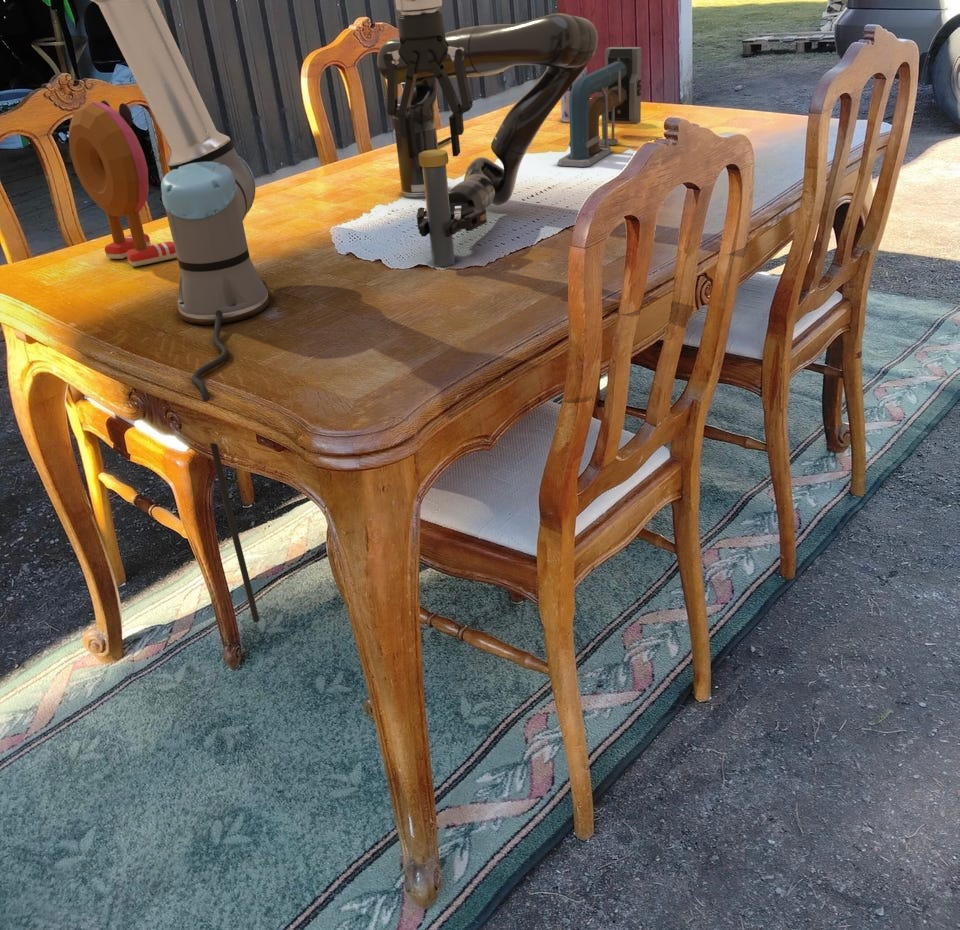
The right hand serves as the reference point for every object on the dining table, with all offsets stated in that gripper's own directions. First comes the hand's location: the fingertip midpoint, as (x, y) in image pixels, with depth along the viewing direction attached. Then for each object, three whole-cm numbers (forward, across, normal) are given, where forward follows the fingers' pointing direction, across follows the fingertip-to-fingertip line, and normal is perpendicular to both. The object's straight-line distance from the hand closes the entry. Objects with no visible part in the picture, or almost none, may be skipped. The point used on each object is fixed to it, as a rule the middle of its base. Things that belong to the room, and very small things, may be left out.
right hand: (435, 231), depth 173 cm
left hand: (-3, 0, -13) cm, 13 cm away
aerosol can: (-124, -3, +7) cm, 125 cm away
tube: (-3, 0, +7) cm, 7 cm away
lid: (-3, 0, -13) cm, 13 cm away
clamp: (-89, +12, +7) cm, 90 cm away
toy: (0, -64, +7) cm, 64 cm away
